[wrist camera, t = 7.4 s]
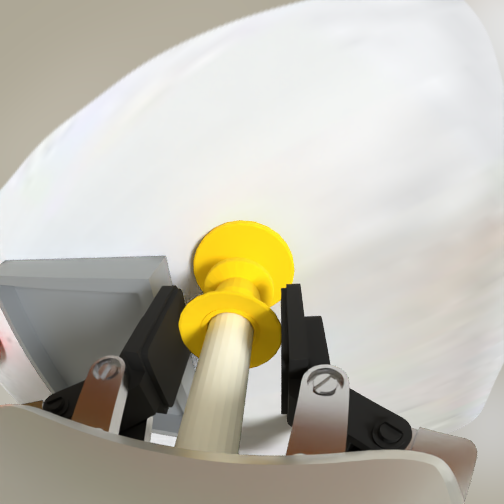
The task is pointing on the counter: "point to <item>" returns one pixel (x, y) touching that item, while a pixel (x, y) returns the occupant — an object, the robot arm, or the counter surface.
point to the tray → (84, 316)
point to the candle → (230, 328)
